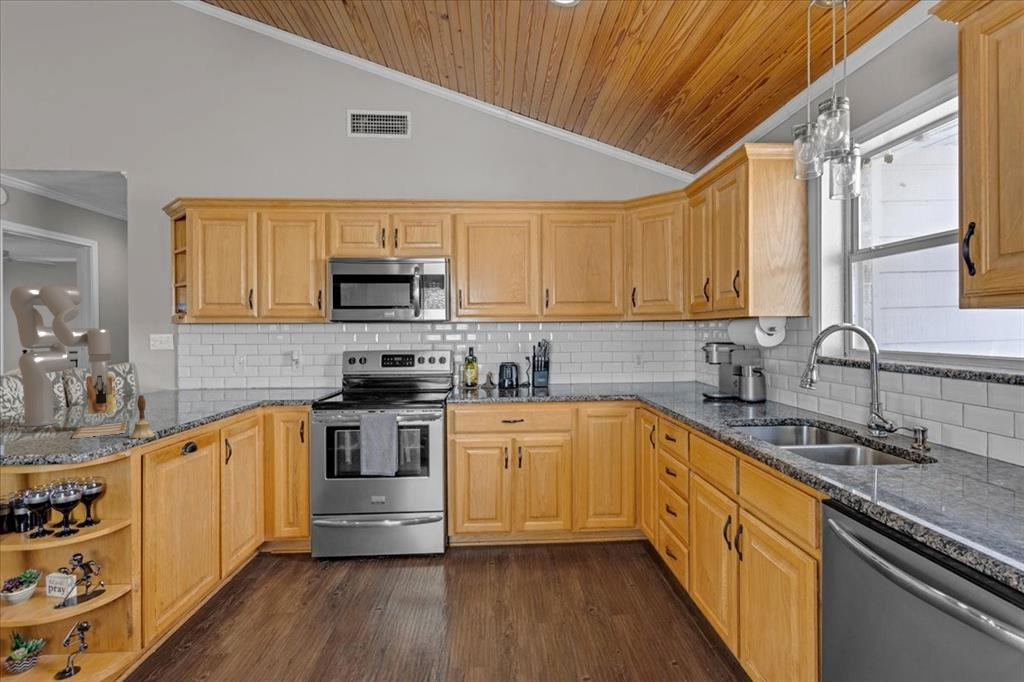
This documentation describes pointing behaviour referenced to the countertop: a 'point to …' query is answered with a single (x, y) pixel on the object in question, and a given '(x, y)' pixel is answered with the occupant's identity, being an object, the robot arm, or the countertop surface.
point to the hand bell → (142, 422)
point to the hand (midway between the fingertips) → (101, 402)
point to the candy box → (110, 397)
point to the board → (100, 430)
